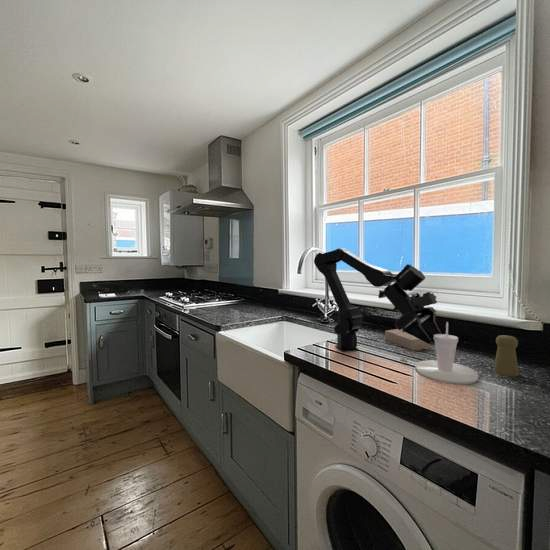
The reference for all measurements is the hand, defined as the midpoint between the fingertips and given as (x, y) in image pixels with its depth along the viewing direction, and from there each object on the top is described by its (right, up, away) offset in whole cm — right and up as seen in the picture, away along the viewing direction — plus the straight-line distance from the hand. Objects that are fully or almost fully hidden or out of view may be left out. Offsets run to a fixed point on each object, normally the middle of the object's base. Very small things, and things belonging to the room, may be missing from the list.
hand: (436, 340), depth 88 cm
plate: (+2, -9, -2) cm, 10 cm away
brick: (+5, -9, +30) cm, 32 cm away
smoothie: (+2, -8, -2) cm, 9 cm away
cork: (+20, -10, -1) cm, 22 cm away
